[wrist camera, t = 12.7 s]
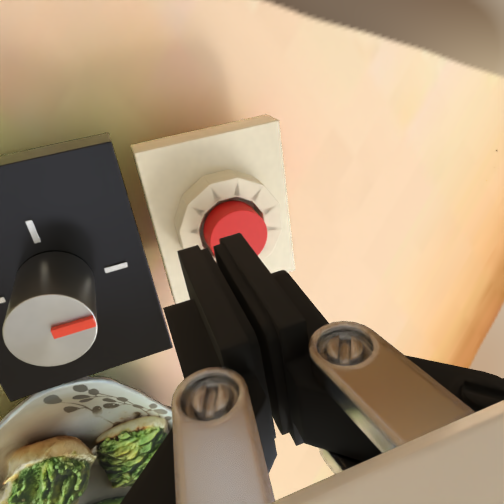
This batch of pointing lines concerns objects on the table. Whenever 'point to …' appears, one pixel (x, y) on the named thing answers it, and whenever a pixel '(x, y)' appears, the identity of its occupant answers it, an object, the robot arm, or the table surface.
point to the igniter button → (235, 225)
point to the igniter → (215, 188)
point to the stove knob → (51, 310)
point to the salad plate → (79, 443)
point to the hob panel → (78, 254)
